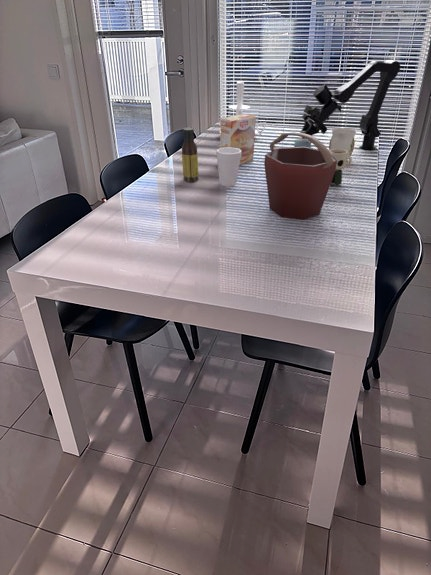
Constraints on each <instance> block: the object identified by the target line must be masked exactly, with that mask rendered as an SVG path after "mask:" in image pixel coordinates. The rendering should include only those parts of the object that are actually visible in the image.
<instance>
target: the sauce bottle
mask: <svg viewBox="0 0 431 575" xmlns="http://www.w3.org/2000/svg"><path fill="white" fill-rule="evenodd" d="M182 133H183V143H182V145H181V160H182V161H181V162H182V175H183V180H184V181H185V182H187V183H193V182H197V181H198V180H199V156H198V154H199V153H198V146H197V144H196V142H195V136H194V134H195V130H194V128H193V127H183V129H182Z"/></svg>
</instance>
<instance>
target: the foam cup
mask: <svg viewBox="0 0 431 575" xmlns="http://www.w3.org/2000/svg"><path fill="white" fill-rule="evenodd" d="M240 158H241V150H240V149H238V148H232V147H225V148H220V147H219V148H218V149H216V160H217V168H218V178H219V185H220V186H222V187H228V188H230V187H234V186H236V185H237V183H238V182H237V181H238V175H239V169H240V165H239V164H240Z"/></svg>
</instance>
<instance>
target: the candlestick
mask: <svg viewBox="0 0 431 575" xmlns="http://www.w3.org/2000/svg"><path fill="white" fill-rule="evenodd" d="M244 91H245V82H244V81H242V80H237V81H236V104H231V105H228V108H229V109H232V110H235V114H234V116H238V115H244V114H243V111H245V110H247V109H250V108H251V106H250V105H245V104H244ZM265 124H267V122H259V123H257V124H256V125H255V137H256V136H258V137H259V136H261V135H262V133H263V132H264V131H265V129H266V126H265ZM259 125H262V127H263V128H262V129H261V130H260V129H259V128H258V127H259ZM218 132H219V133H221V129H219V131H218Z"/></svg>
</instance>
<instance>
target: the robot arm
mask: <svg viewBox="0 0 431 575" xmlns="http://www.w3.org/2000/svg"><path fill="white" fill-rule="evenodd" d="M400 70H401V63H400V62H399V61H398V60H392V59H386V60H385V61H377V60H372V61H370V62H369V63H368V64H367V65H366V66H365V67H364V68H363V69H362V70H361V71H360V72H358V73H357V74H356V75H355V76H354V77H353V78H351V80H349V81H348V82H347V83H344V84H342V85H341V86H339V87H338V88H336V89H334V90H333V91H331V90H330V89H329V87H328V85H327V84H323V85H321V86H319V87H317V88H316V89H315V90H314V91H313V92H312V95H313V97H314V99H315V100H316V101H317V102H318V103H319V105H320V106H321V105H322V107H320V108H319V107H317V106H313V107H311V106H310V105H308V104H307V105H306V106H305V108H304V110H303V113H304V114H303V115H302V116H301V118H302V119H303V123H304V125H303V126H302V128H301V130H300V132H301V131H306V132H305V134H308V135H311V136H313V135H316V134H320V133H321V134H322V135H325V134H326V133H327V131H328V128H327V126H326V125H325V124H324V123H325V122H326V121H329V120H330V117H331V116H332V115H333V114H334V113H335V112H336V111H338V112H340V113H341V111H342V104H346V103H347V102H349V101H350V99H352V97H353V96H354V94H355V92H356V90H358V89H359V88H360V87H361V86H362V85H363V84H364V83H365V82H366V81H368V80H369V79H370V78H371V77H372V76H373V75H374V74H375V73H376V72H379V82H378V84H377V88H376V91H375V93H374V96H373V99H372V101H371V104H370V105H369V108H368V112H367V113H366V114H362V115H361V119H360V121H359V122H358V123H359V129H360V130H361V134H362V135H363V139H362V143H361V145H360V146H358V148H359V149H364V150H368V151H372V150H374V149H377V146H375V142H376V138H380V135H381V131H380V130H379V129H378V125H379V113H380V111H381V109H382V106H383V105H384V101H385V98H386V96H387V93H388V90H389V89H390V88H389V87H390V85H391V83H392V82H393V81H394V80H395V79H396V78H397V76H398V74H399V72H400ZM338 102H339V103H341V104H338ZM302 138H303V137H301V139H302ZM303 139H304V138H303Z"/></svg>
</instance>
